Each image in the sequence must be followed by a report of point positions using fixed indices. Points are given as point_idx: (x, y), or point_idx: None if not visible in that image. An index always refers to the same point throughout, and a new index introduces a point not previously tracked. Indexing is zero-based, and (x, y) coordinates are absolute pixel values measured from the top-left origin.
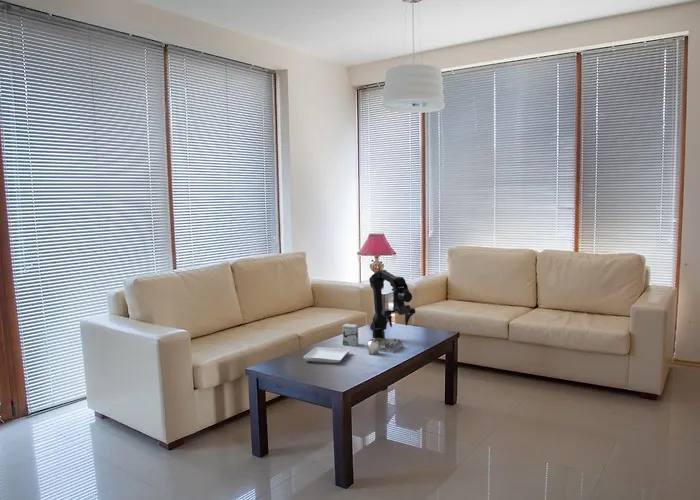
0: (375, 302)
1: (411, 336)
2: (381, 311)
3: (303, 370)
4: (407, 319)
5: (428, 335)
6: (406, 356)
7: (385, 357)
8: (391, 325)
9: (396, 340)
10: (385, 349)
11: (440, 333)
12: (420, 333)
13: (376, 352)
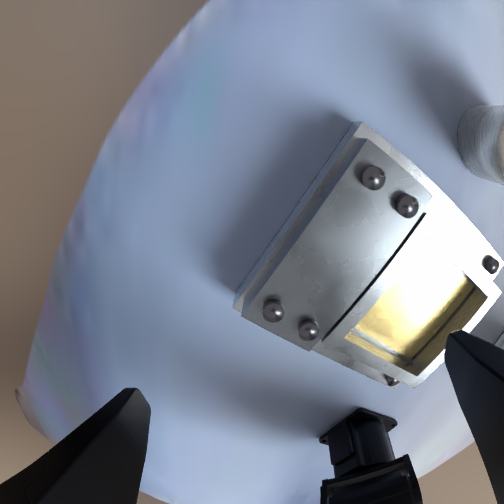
0: None
1: (172, 445)
2: None
3: None
4: (58, 471)
5: None
6: (245, 8)
7: (416, 23)
8: (473, 345)
9: (294, 314)
10: (414, 167)
11: (62, 433)
12: None
13: (480, 108)
